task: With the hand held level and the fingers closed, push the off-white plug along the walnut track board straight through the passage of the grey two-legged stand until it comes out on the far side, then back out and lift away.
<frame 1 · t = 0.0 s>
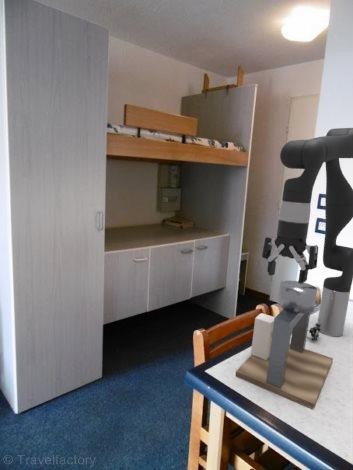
hand: (285, 278, 88), 29 cm above the table, tool pointing down, fingers open, 8 cm apart
track board: (286, 369, 98), on the table
grey two-legged stand: (292, 326, 95), on the track board, point 14 cm above the table
valve: (299, 335, 121), on the table
plug: (265, 336, 101), point 8 cm above the table, slide at 0.0 cm
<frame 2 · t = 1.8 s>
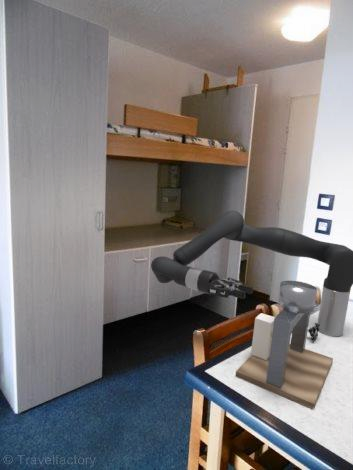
hand: (248, 293, 102), 20 cm above the table, tool horizontal, fingers open, 5 cm apart
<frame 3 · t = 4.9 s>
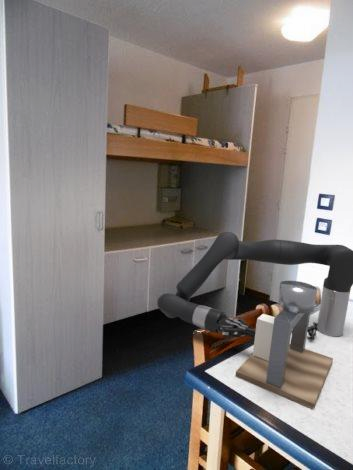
hand: (257, 335, 102), 7 cm above the table, tool horizontal, fingers closed
plug: (267, 337, 100), point 8 cm above the table, slide at 0.6 cm, touching gripper
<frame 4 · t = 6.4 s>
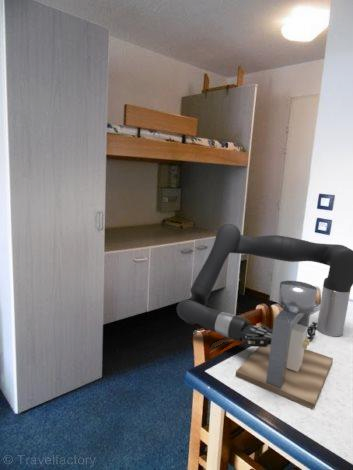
hand: (285, 344, 97), 7 cm above the table, tool horizontal, fingers closed
plug: (296, 347, 96), point 8 cm above the table, slide at 9.2 cm, touching gripper
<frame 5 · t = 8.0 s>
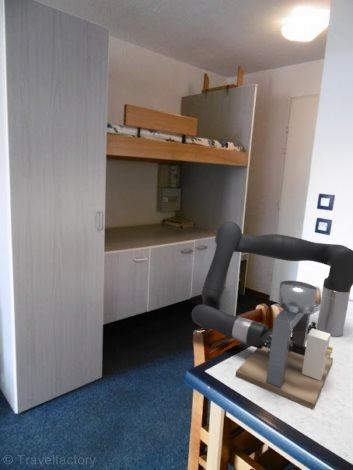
hand: (306, 351, 94), 7 cm above the table, tool horizontal, fingers closed
plug: (318, 354, 92), point 8 cm above the table, slide at 15.3 cm, touching gripper
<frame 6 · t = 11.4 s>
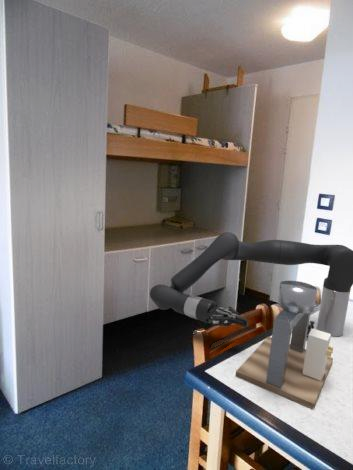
hand: (247, 323, 104), 10 cm above the table, tool horizontal, fingers closed
plug: (318, 354, 92), point 8 cm above the table, slide at 15.5 cm
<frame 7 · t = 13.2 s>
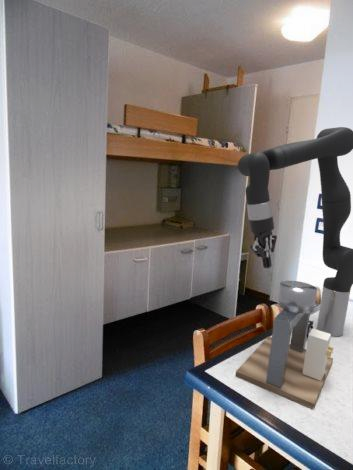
hand: (267, 267, 108), 27 cm above the table, tool tilted 15°, fingers closed
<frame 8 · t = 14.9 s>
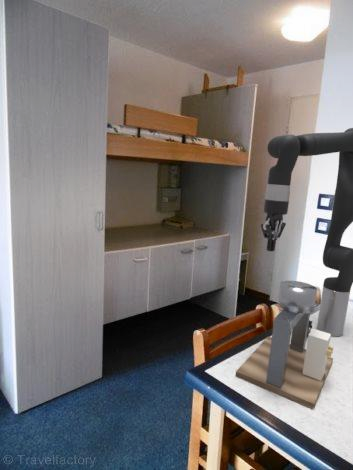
hand: (270, 250, 110), 32 cm above the table, tool pointing down, fingers closed
at the end: plug slide at 15.5 cm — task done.
